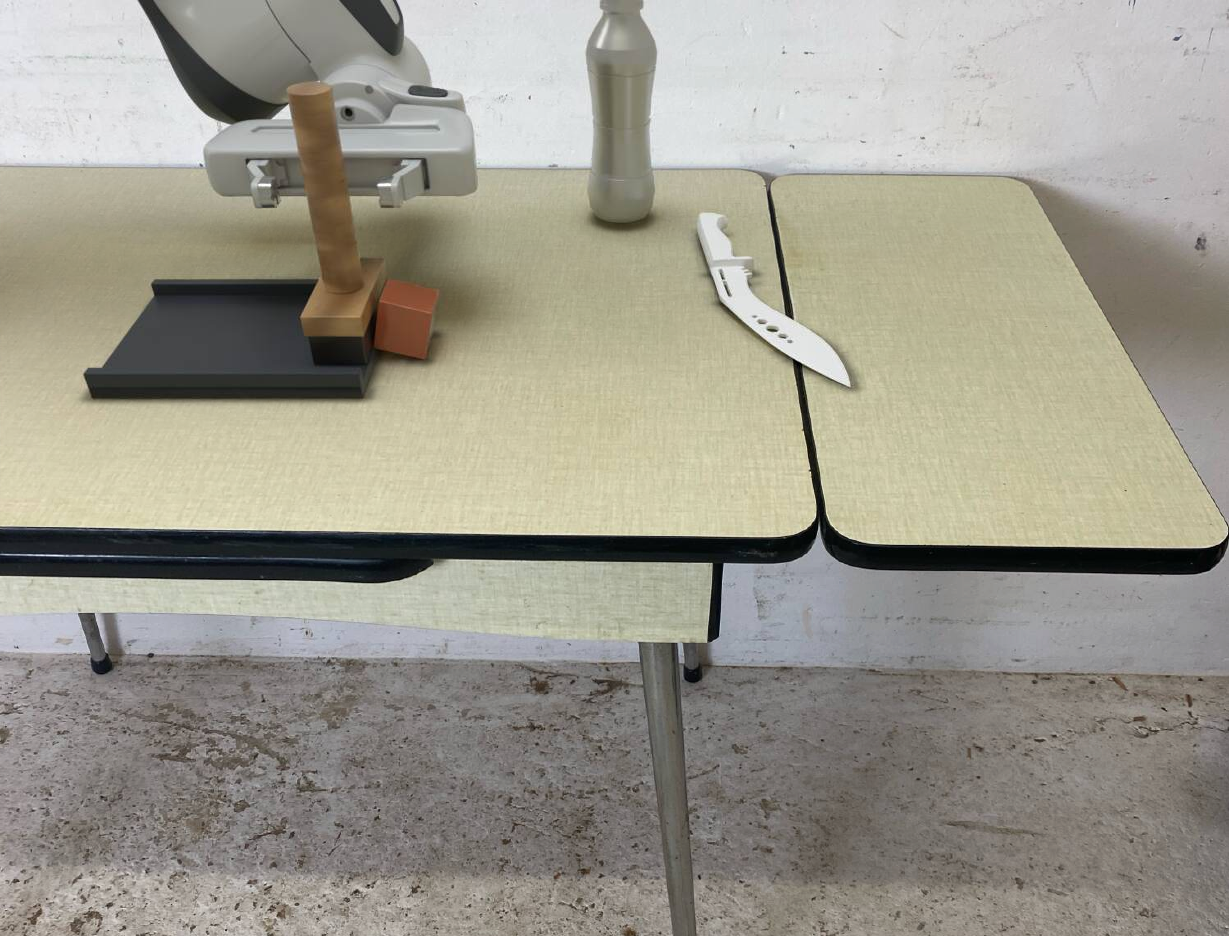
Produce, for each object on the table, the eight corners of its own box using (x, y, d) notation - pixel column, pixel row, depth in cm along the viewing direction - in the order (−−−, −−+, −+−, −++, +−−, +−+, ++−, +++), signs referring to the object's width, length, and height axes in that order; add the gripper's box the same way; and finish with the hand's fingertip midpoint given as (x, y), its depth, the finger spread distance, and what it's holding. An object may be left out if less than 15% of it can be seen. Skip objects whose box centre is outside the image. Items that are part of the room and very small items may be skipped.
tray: (91, 398, 79) (82, 374, 78) (161, 301, 91) (154, 278, 90) (363, 398, 79) (358, 373, 78) (396, 301, 91) (393, 278, 90)
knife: (855, 377, 79) (751, 380, 79) (851, 396, 80) (749, 400, 80) (775, 208, 101) (693, 210, 100) (773, 226, 102) (692, 227, 101)
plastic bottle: (659, 206, 106) (665, -24, 93) (648, 233, 101) (653, -6, 88) (595, 202, 107) (591, -27, 94) (581, 229, 102) (576, -9, 89)
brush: (310, 366, 81) (256, 112, 69) (338, 304, 88) (294, 66, 76) (369, 366, 80) (325, 112, 69) (391, 304, 88) (356, 66, 76)
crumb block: (373, 348, 83) (378, 300, 80) (381, 324, 86) (387, 277, 83) (424, 360, 83) (432, 313, 81) (431, 335, 86) (439, 290, 84)
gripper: (222, 91, 85) (167, 152, 74) (482, 91, 85) (462, 151, 74) (241, 173, 89) (191, 241, 79) (488, 173, 89) (471, 240, 78)
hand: (325, 197), depth 76 cm, fingers open, 8 cm apart
